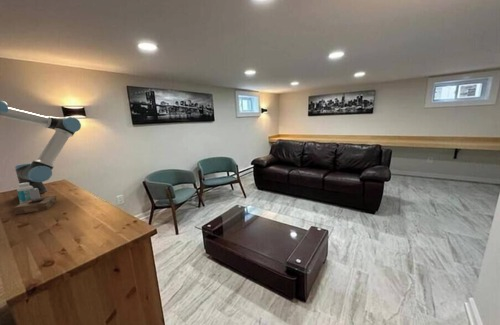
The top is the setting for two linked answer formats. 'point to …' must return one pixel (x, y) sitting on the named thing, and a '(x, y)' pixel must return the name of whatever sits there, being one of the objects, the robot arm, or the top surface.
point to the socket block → (35, 205)
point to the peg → (34, 195)
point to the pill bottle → (24, 192)
